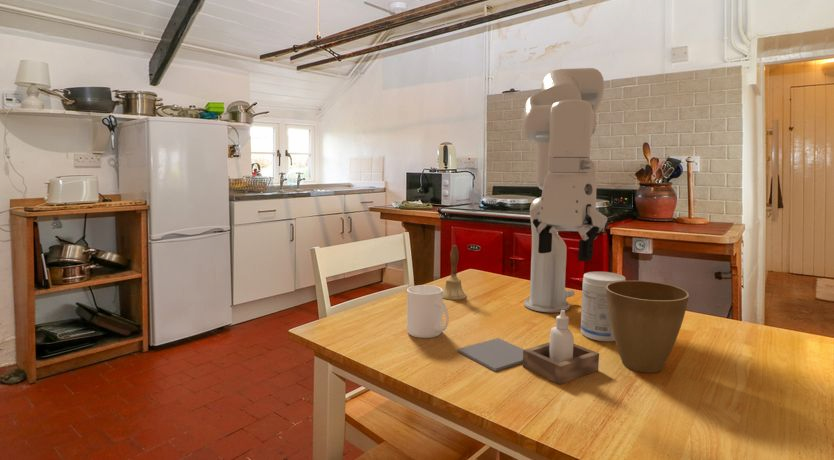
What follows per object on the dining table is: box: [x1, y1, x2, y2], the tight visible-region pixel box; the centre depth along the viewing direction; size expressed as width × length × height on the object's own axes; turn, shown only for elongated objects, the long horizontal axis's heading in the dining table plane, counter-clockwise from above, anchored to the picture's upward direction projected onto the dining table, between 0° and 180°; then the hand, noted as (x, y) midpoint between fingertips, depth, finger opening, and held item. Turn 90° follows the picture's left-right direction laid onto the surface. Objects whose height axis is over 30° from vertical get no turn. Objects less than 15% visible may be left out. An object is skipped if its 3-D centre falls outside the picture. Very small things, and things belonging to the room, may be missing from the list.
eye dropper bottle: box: [549, 310, 575, 363], centre depth 94 cm, size 4×6×12 cm
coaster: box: [456, 337, 525, 372], centre depth 102 cm, size 12×12×1 cm
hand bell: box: [443, 244, 467, 301], centre depth 146 cm, size 8×8×16 cm
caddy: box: [522, 341, 600, 385], centre depth 95 cm, size 11×9×4 cm
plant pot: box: [606, 280, 690, 373], centre depth 96 cm, size 15×15×16 cm
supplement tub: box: [580, 271, 627, 343], centre depth 113 cm, size 10×10×15 cm
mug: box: [406, 284, 449, 339], centre depth 113 cm, size 9×12×11 cm
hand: (564, 256), depth 92 cm, fingers open, 9 cm apart
